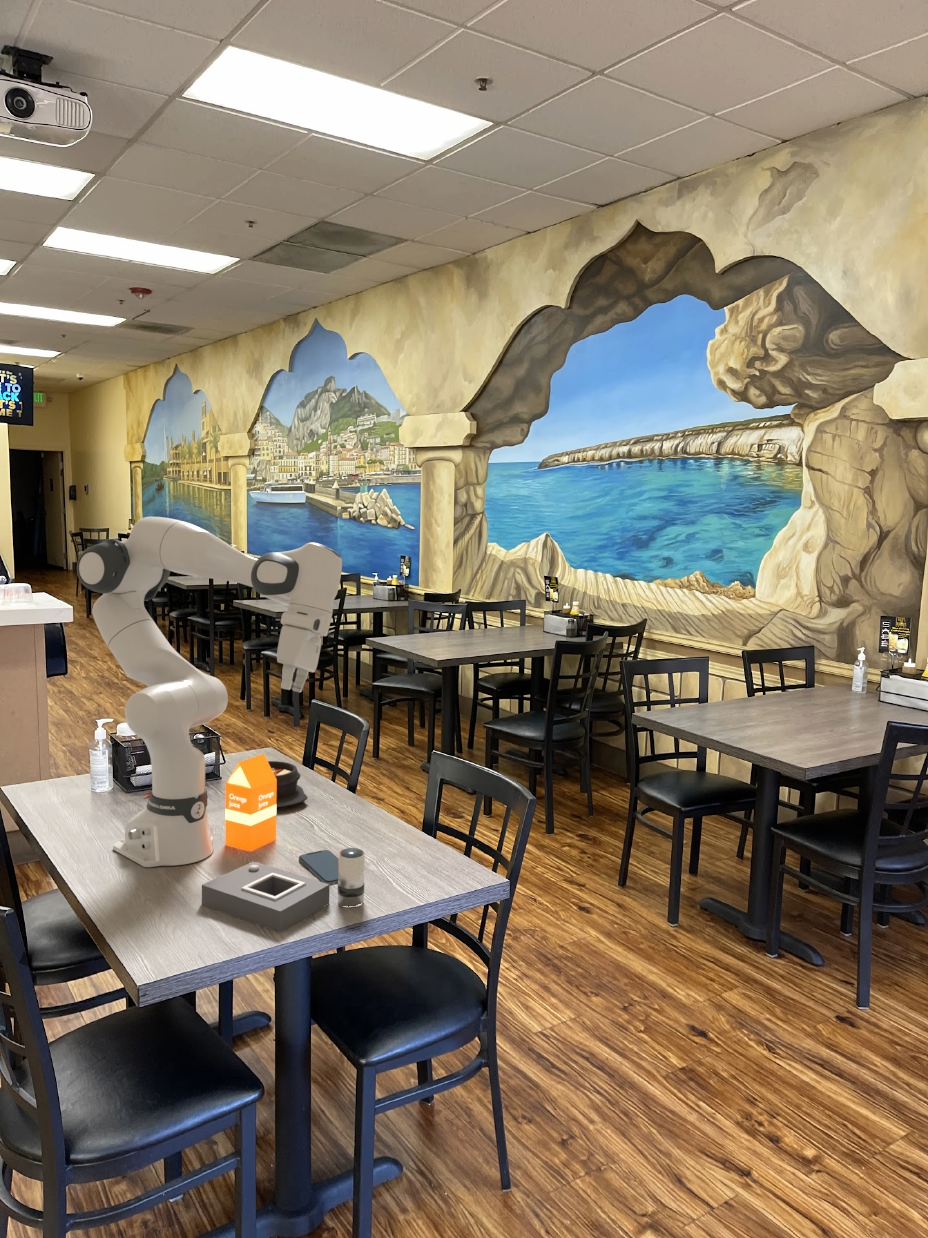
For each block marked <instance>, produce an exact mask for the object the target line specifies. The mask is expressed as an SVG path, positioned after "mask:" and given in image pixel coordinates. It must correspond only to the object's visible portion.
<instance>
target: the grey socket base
mask: <svg viewBox="0 0 928 1238" xmlns="http://www.w3.org/2000/svg"><path fill="white" fill-rule="evenodd" d="M327 904H328V905H329V904H330V885H329V884H326V883H323V882H322V881H321V880H316V879H312V878H309V877H306V876H303V875H299V874H296V873H293V872H290V871H286V870H283V869H281V868H276V867H273V866H271V865H267V864H264V863H260V862H258V861H254V860H253V861H251V862H249V863H247V864H244V865H242V866H240V867H238V868H235V869H233V870H231V871H229V872H227V873H225V874H222V875H221V876H218V877H216V878H214V879H212V880H210V881H207V882H205V883H203V884H201V905H202V906H203V907H207V908H210V909H213V910H216V911H218V912H221V913H224V914H227V915H230V916H233V917H235V918H239V919H240V920H243V921H246V922H249V923H253V924H255V925H258V926H262V927H264V928H266V929H270V930H273V931H276V932H279V933H282V932H283V931H285V930H286V929H289V928H290V927H292V926H293V924H294V925H296V924H297V923H299V922H301V921H302V920H304V919H305V917H306V918H307V916H308V917H309V916H311V915H313V914H315V913H316V912H318V911H319V910H321V909H323V908H325V907H326V905H327ZM328 905H327V906H328ZM324 906H325V907H324ZM314 912H315V913H314Z"/></svg>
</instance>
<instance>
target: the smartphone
mask: <svg viewBox="0 0 928 1238" xmlns="http://www.w3.org/2000/svg"><path fill="white" fill-rule="evenodd" d="M298 862H299V863H300V864H302V866H304V868H306V869H307V870H308V871H309V872H310V873H311V872H312V873H311V874H312V875H314V876H315V877H316V878H317V879H318V880H319V881H320V882H323V883H326V884H329V886H330V885H335V884H338V875H339V857H337V856H336V855H335V854H334V853H333V852H332V851H330V850H329V849H323V850H317V851H313V852H307V853H304V854H300V855H299V856H298ZM334 883H335V884H334Z"/></svg>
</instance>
